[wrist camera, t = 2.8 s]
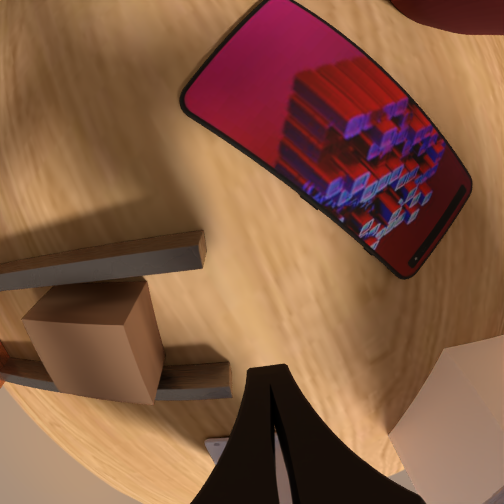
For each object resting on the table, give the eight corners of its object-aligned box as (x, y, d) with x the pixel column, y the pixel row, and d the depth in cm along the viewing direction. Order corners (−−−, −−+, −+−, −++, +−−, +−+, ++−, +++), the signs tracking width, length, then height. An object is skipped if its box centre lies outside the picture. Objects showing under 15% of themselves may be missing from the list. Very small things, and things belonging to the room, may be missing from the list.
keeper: (148, 279, 14) (123, 325, 10) (166, 354, 15) (153, 404, 12) (57, 282, 13) (21, 318, 10) (82, 349, 15) (59, 391, 11)
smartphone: (276, -13, 8) (477, 184, 12) (274, -4, 9) (468, 181, 13) (169, 106, 10) (406, 287, 14) (173, 109, 11) (399, 280, 15)
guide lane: (203, 230, 13) (187, 280, 8) (231, 373, 16) (233, 441, 11) (-39, 272, 12) (-76, 302, 8) (6, 364, 16) (-19, 401, 11)
